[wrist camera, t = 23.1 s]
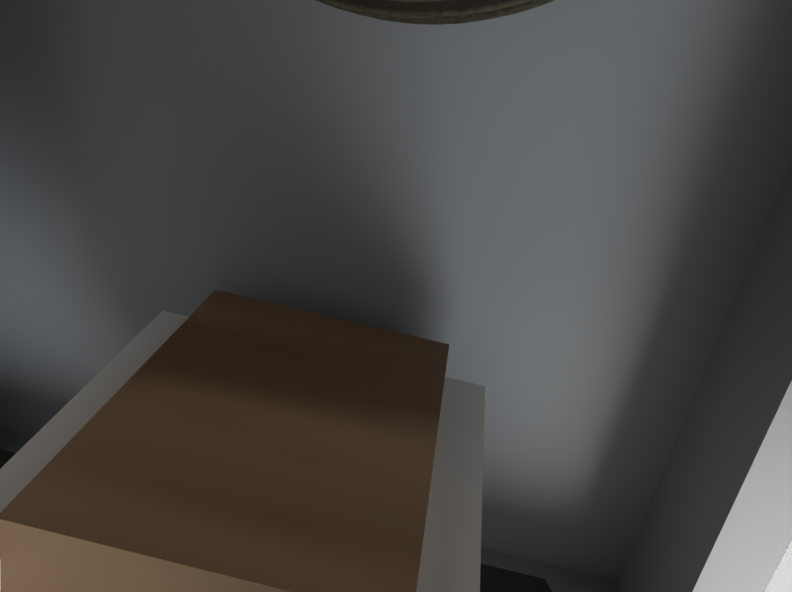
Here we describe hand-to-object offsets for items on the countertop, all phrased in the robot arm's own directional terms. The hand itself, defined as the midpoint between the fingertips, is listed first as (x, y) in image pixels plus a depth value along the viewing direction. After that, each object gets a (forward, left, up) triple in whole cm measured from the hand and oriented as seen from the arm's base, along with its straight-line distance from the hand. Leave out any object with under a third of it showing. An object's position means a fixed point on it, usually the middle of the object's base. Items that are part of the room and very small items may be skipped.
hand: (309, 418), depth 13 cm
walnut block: (0, 0, 0) cm, 0 cm away
